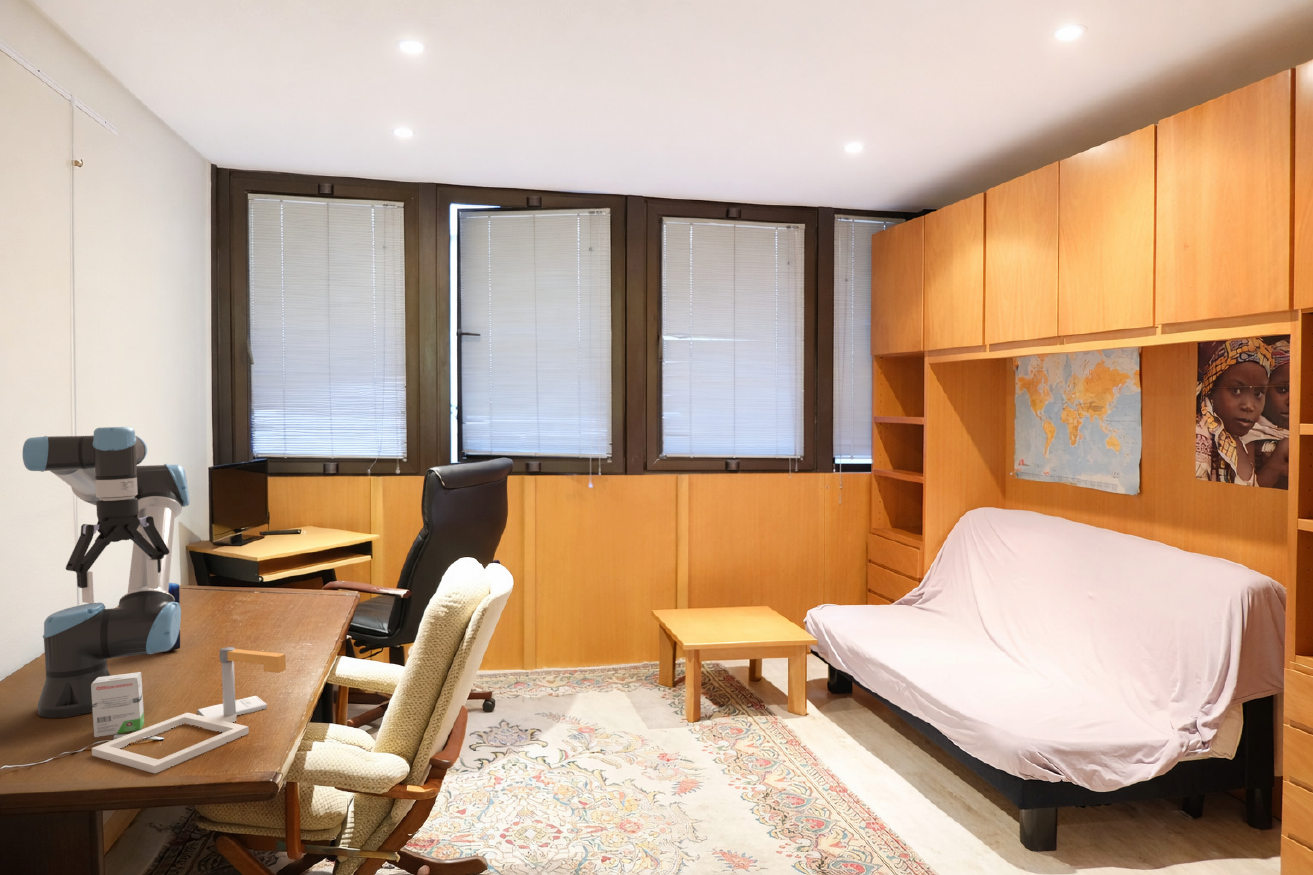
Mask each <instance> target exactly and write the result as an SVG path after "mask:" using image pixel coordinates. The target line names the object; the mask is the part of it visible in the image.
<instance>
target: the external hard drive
mask: <svg viewBox="0 0 1313 875" xmlns="http://www.w3.org/2000/svg"><path fill="white" fill-rule="evenodd" d="M235 705H236V717H238V716H237V715H240V716H242V715H241V714H244V715H246V714H245V713H247V714H251V713H254V712H258V711H262V709H263V710H266V708H268V704H267V703H266V702H265V701H263V700H262V699H261V698H260V697H259V696H258V695H253V696H249V697H244V698H240V699H235ZM196 713H197V714H198V713H199V715H201V716H205V717H209V718H215V717H217V716H220V715H222V714H223V702H222V703H219V704H214V705H210V706H207V707H203V708H198V709H197V712H196Z"/></svg>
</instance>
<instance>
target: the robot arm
mask: <svg viewBox="0 0 1313 875" xmlns="http://www.w3.org/2000/svg"><path fill="white" fill-rule="evenodd" d="M147 454H148V447H147V444H146V442H145V440H143V439H142V438H141V437H139V436H137V435H136V431H135V429H134V428H133V426H109V427H98V428H95V429H94V431H93V435H65V436H63V435H62V436H61V435H59V436H58V435H54V436H48V435H44V436H34V437H29V438H27V439H26V440H25V441H24V442H23V446H22V462H23V465H24V467H25V468H26V469H27V470H28V471H31V472H43V473H44V472H47V471H49V472H51V473H52V474H54V475H55V476H57V477H58V478H59V479H60V480H61V481H63V482H65V483H66V484H67V485H69V486H70V488H71V491H72V492H73V493H74V495H75V496H76V497H77V498H78V499H80V500H82V501H83V502H85V503H88V504H90V505H94V506H96V517H97V522H96V524H88V523H84V524H81V526H80V535H79V537H78V539H77V541H76V544H75V546H74V549H73V550H72V553H71V555H70V557H69V559H68V561H67V563H66V566H65V570H66V571H69V572H75V573H76V583H77V584H76V585H77V587H78V588H79V589H81V601H82V603H85V604H81V605H75V606H72V607H68V608H64V609H62V610H58V611H56V612H54V613H51V614H50V615H49V616H47V617H46V618H45V619H44V623H43V634H42V639H43V645H44V646H43V648H44V649H43V650H44V663H45V664H44V665H45V666H44V667H45V680H44V684H43V687H42V690H41V693H40V696H39V699H38V702H37V714H38V716H39V717H42V718H48V719H57V718H58V719H60V718H67V717H68V718H69V717H74V716H79V715H84V714H85V715H86V714H88V713H93V710H92V693H91V684H92V683H93V682H94V681H95V680H96V678H98V677H104V676H112V675H111V674H110V671H109V670H108V661H107V660H108V659H116V658H123V657H132V656H142V655H143V656H144V655H153V654H157V653H164V652H163V651H167V650H169V649H171V648H172V647H173V646H174V644H175V643H176V640H177V637H178V634H179V629H180V630H181V619H182V608H181V605H180V604H179V603H177V602H175V599H174V597H173V596H172V595H171V594H169V593H168V589H169V583H170V576H171V564H172V553H173V540H174V527H175V519H176V518H177V517H179V516H180V515H181V514H182V511H183V508H184V507H189V505H190V493H189V488H188V480H187V476H186V471H185V468H184V467H183V466H182V465H179V464H167V463H164V464H162V465H161V464H158V465H157V464H156V465H155V464H154V465H151V464H150V465H140V464H141V463H142V462H143V461H144V459H145V458H146V457H147ZM97 532H98V533H99V534H98V535H97V537H96V538H95V540H94V543H93V544H92V546H91V547H90V545H91V542H92V540H93V538H94V535H95V534H96V533H97ZM129 540H131V541H132V543H133V544H132V553H131V560H130V561H131V562H130V570H129V577H128V587H127V593H126V594H124V595H123V596H121V597H120V599H119V601H118V606H117V607H114V608H106V605H105V603H103V602H95V600H94V597H95V596H94V581H93V580H94V578H93V577H94V576H93V575H94V574H93V571H90V569H91V567H92V566H93V565H94V563H95V562H96V560H98V558H99V557H100V556H101V554H102V552H104V550H105V548H107V546H109V545H110V544H111V543H117V542H120V541H129ZM89 547H90V548H89Z"/></svg>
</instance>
